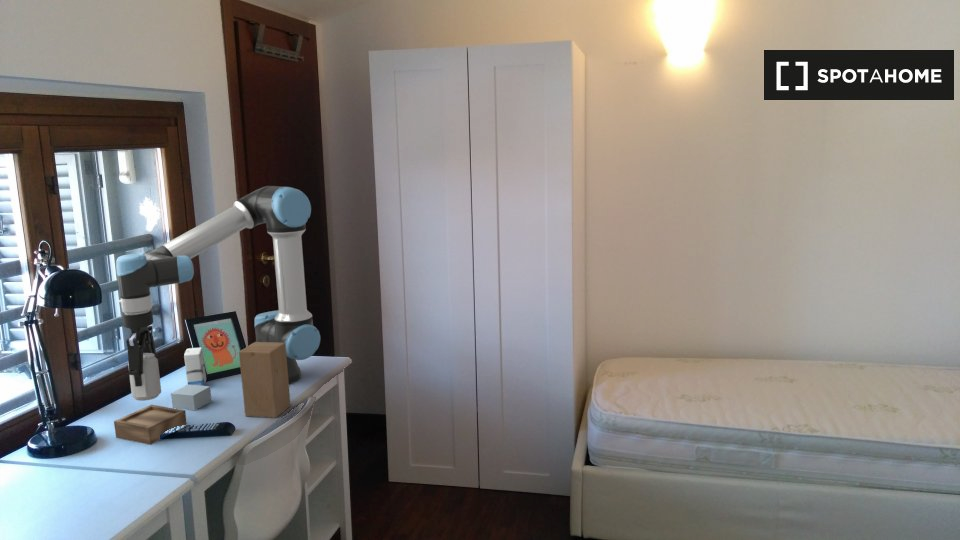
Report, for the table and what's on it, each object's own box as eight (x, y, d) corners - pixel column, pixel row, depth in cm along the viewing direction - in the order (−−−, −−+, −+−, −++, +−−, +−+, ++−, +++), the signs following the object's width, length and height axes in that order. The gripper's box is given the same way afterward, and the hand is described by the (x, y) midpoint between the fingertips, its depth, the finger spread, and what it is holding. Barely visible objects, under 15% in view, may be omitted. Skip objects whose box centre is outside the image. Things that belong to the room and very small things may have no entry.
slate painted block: (190, 399, 235) (188, 384, 234) (211, 401, 233) (210, 386, 232) (172, 409, 228) (170, 393, 227) (194, 411, 225) (193, 395, 224)
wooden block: (276, 418, 217) (270, 352, 213) (244, 416, 219) (238, 351, 215) (291, 405, 227) (285, 342, 223) (260, 404, 229) (254, 341, 225)
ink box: (203, 388, 244) (199, 354, 242) (187, 390, 243) (183, 355, 241) (206, 380, 252) (203, 346, 250) (190, 381, 251) (187, 348, 249)
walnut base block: (153, 420, 219) (151, 404, 218) (187, 426, 214) (185, 410, 213) (116, 437, 207) (113, 421, 206) (150, 444, 202) (148, 427, 201)
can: (143, 391, 213) (138, 350, 210) (167, 392, 211) (162, 351, 209) (126, 401, 205) (121, 359, 203) (150, 402, 204) (145, 360, 202)
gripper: (135, 303, 213) (144, 379, 218) (108, 321, 193) (118, 405, 198) (163, 302, 214) (171, 378, 218) (138, 320, 194) (148, 403, 198)
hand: (146, 391), depth 208 cm, fingers closed on can, 7 cm apart
